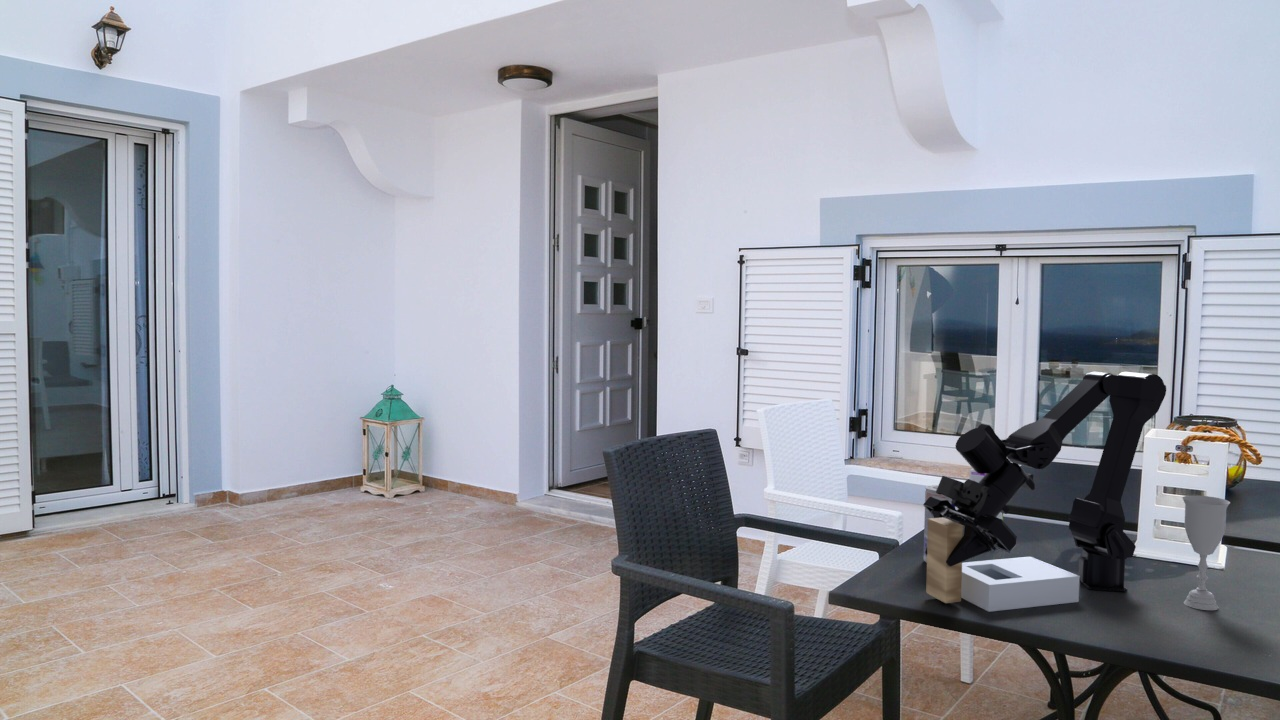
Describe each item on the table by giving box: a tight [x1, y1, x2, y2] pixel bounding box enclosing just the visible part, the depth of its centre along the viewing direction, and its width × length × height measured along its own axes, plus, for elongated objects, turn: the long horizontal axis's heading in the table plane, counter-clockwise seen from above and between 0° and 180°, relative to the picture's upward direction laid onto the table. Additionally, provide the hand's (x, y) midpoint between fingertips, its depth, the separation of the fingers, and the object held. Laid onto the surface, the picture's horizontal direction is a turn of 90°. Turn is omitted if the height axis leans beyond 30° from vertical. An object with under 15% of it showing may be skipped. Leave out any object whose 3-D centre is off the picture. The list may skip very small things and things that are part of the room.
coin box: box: [961, 556, 1080, 613], centre depth 154 cm, size 18×12×4 cm, turn 106°
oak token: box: [925, 517, 964, 604], centre depth 150 cm, size 3×6×13 cm, turn 16°
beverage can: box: [923, 484, 956, 564], centre depth 173 cm, size 6×6×15 cm
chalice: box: [1181, 495, 1231, 611], centre depth 149 cm, size 7×7×18 cm
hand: (937, 559), depth 150 cm, fingers closed on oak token, 5 cm apart
